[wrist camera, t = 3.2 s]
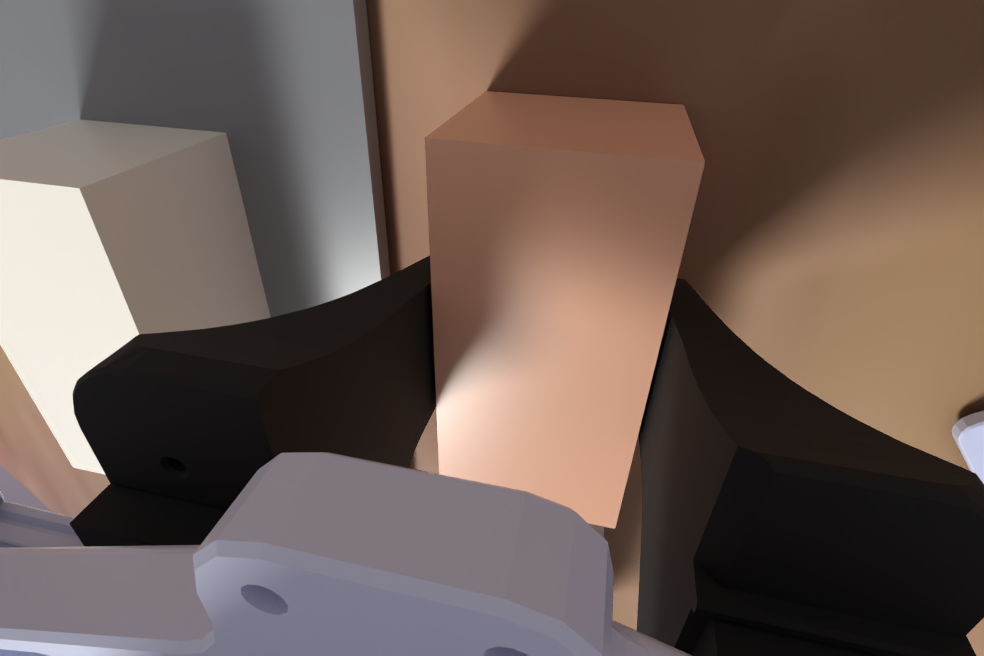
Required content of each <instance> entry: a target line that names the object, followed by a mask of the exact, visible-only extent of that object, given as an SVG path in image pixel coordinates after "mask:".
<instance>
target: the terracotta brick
mask: <svg viewBox="0 0 984 656" xmlns="http://www.w3.org/2000/svg"><path fill="white" fill-rule="evenodd" d="M425 150H426V174H427V197H428V221H429V244H430V268H431V291H432V315H433V339H434V362H435V386H436V409H437V433H438V457H439V474H441V475H446V476H451V477H456V478H461V479H466V480H471V481H476V482H481V483H486V484H491V485H496V486H502V487H507V488H512V489H517V490H522V491H527V492H530V493H532V494H535V495H538V496H540V497H543V498H545V499H548V500H551V501H553V502H556V503H558V504H561V505H564V506H566V507H569V508H571V509H573V510H574V511H575V512H577V513H578V514H579V515H580V516H581V517H582V518H583V519H584V520H585V521H586V522H587V523H589V524H594V525H599V526H603V527H608V528H613V529H615V527H616V523H617V519H618V515H619V511H620V507H621V503H622V499H623V495H624V491H625V487H626V483H627V479H628V475H629V470H630V466H631V462H632V458H633V454H634V450H635V446H636V442H637V438H638V434H639V430H640V426H641V422H642V418H643V414H644V409H645V405H646V401H647V397H648V393H649V389H650V385H651V381H652V377H653V373H654V369H655V365H656V361H657V357H658V352H659V348H660V344H661V340H662V336H663V332H664V328H665V324H666V320H667V316H668V312H669V308H670V304H671V300H672V295H673V291H674V287H675V283H676V279H677V275H678V271H679V267H680V263H681V259H682V255H683V251H684V247H685V243H686V238H687V234H688V230H689V226H690V222H691V218H692V214H693V210H694V206H695V202H696V198H697V194H698V190H699V186H700V182H701V177H702V173H703V169H704V165H705V160H704V157H703V155H702V152H701V149H700V147H699V144H698V141H697V139H696V136H695V133H694V131H693V128H692V125H691V123H690V120H689V117H688V115H687V112H686V109H685V107H684V105H679V104H665V103H651V102H636V101H622V100H608V99H593V98H579V97H564V96H550V95H536V94H521V93H507V92H493V91H486V92H484V93H483V94H482V95H481V96H479V97H478V98H477V99H475V100H474V101H473V102H471V103H470V104H469V105H467V106H466V107H465V108H463V109H462V110H461V111H460V112H458V113H457V114H456V115H454V116H453V117H452V118H450V119H449V120H448V121H446V122H445V123H444V124H443V125H441V126H440V127H439V128H437V129H436V130H435V131H433V132H432V133H431V134H429V135H428V136H427V137H425Z"/></svg>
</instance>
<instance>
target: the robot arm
mask: <svg viewBox="0 0 984 656" xmlns="http://www.w3.org/2000/svg"><path fill="white" fill-rule="evenodd" d="M73 406H74V414H75V417H76V419H77V421H78V424H79V426H80V429H81V431H82V432H83V434H84V436H85V438H86V440H87V442H88V443H89V445H90V447H91V449H92V451H93V452H94V454H95V456H96V458H97V460H98V462H99V463H100V465H101V467H102V469H103V471H104V472H105V474H106V476H107V478H108V480H109V482H110V483H111V484H110V485H109V486H108V487H107V488H106V489H105V490H103V491H102V492H101V493H100V494H99V495H98V496H97V497H96V498H95V499H94V500H93V501H92V502H91V503H90V504H89V505H88V506H87V507H86V508H85V509H84V510H83V511H82V512H81V513H80V514H79V515H78V516H77V517H75V518H74V517H70V516H66V515H62V514H58V513H53V512H49V511H45V510H41V509H37V508H33V507H28V506H24V505H20V504H16V503H12V502H7V501H4V497H3V494H2V492H1V491H0V656H976V654H975V652H974V650H973V648H972V646H971V644H970V642H969V640H968V638H967V636H966V635H967V634H968V633H969V632H970V631H971V630H972V629H973V628H974V627H975V626H976V625H977V624H978V623H979V622H980V621H981V620H982V619H983V618H984V411H980V412H977V413H973V414H970V415H968V416H965V417H963V418H961V419H960V420H959V421H958V422H956V423H955V425H954V426H953V428H952V435H953V438H954V440H955V442H956V444H957V446H958V447H959V449H960V451H961V453H962V455H963V457H964V459H965V461H966V463H967V465H968V467H969V469H970V471H969V470H966V469H964V468H962V467H959V466H957V465H954V464H952V463H950V462H947V461H945V460H943V459H940V458H938V457H936V456H933V455H931V454H928V453H926V452H924V451H921V450H919V449H917V448H914V447H912V446H909V445H907V444H905V443H903V442H900V441H898V440H896V439H894V438H892V437H890V436H888V435H886V434H884V433H882V432H880V431H878V430H876V429H874V428H872V427H870V426H868V425H866V424H864V423H862V422H860V421H858V420H856V419H854V418H853V417H851V416H849V415H847V414H845V413H844V412H842V411H840V410H838V409H836V408H835V407H833V406H831V405H830V404H828V403H826V402H825V401H823V400H821V399H820V398H818V397H817V396H815V395H813V394H812V393H810V392H808V391H807V390H805V389H804V388H802V387H801V386H799V385H798V384H796V383H795V382H793V381H792V380H790V379H789V378H788V377H786V376H785V375H784V374H782V373H781V372H780V371H778V370H777V369H776V368H774V367H773V366H772V365H770V364H769V363H767V362H766V361H765V360H764V359H763V358H761V357H760V356H759V355H758V354H756V353H755V352H754V351H753V350H752V349H751V348H750V347H749V346H747V345H746V344H745V343H744V342H743V341H742V340H741V339H740V338H739V337H738V336H736V335H735V334H734V333H733V332H732V331H731V330H730V329H729V328H728V327H727V326H726V325H725V324H724V323H723V322H722V321H721V319H720V318H719V317H718V316H717V315H716V314H715V313H714V312H713V311H712V310H711V309H710V308H709V306H708V305H707V304H706V303H705V302H704V301H703V300H702V299H701V297H700V296H699V295H698V294H697V293H696V292H695V290H694V289H693V288H692V287H691V286H690V285H689V284H688V283H687V282H686V281H685V280H684V279H678V278H677V279H676V283H675V287H674V291H673V295H672V300H671V304H670V308H669V312H668V316H667V320H666V324H665V328H664V332H663V336H662V340H661V344H660V348H659V352H658V357H657V361H656V365H655V369H654V373H653V377H652V381H651V385H650V389H649V393H648V397H647V401H646V405H645V409H644V414H643V418H642V422H641V426H640V430H639V444H640V455H641V467H642V486H643V500H642V533H641V557H640V581H639V600H638V619H637V631H636V630H634V629H631V628H629V627H627V626H625V625H622V624H620V623H618V622H616V621H614V620H612V611H613V584H614V572H613V566H612V561H611V556H610V550H609V545H608V542H607V541H606V540H605V539H604V538H603V537H602V536H601V535H600V534H599V533H598V532H597V531H596V530H594V529H593V528H592V527H591V526H590V525H589V524H588V523H587V522H586V521H585V520H584V519H583V518H582V517H581V516H580V515H579V514H578V513H577V512H575V511H574V510H573V509H571V508H569V507H566V506H564V505H561V504H558V503H556V502H553V501H551V500H548V499H545V498H543V497H540V496H538V495H535V494H532V493H530V492H527V491H522V490H517V489H512V488H507V487H502V486H496V485H491V484H486V483H481V482H476V481H471V480H466V479H461V478H456V477H451V476H446V475H441V474H436V473H430V472H425V471H420V470H415V469H410V468H408V466H409V464H410V461H411V458H412V456H413V453H414V450H415V448H416V446H417V444H418V441H419V439H420V437H421V435H422V433H423V431H424V429H425V427H426V425H427V423H428V421H429V419H430V417H431V415H432V413H433V411H434V409H435V407H436V386H435V362H434V339H433V315H432V291H431V268H430V256H428V257H426V258H424V259H422V260H420V261H418V262H416V263H414V264H412V265H410V266H409V267H407V268H405V269H403V270H401V271H399V272H397V273H395V274H393V275H391V276H389V277H387V278H385V279H382V280H380V281H378V282H376V283H373V284H371V285H369V286H367V287H364V288H362V289H360V290H358V291H356V292H353V293H351V294H348V295H346V296H343V297H340V298H338V299H335V300H332V301H329V302H326V303H323V304H320V305H317V306H314V307H310V308H307V309H303V310H299V311H295V312H291V313H287V314H283V315H279V316H275V317H271V318H267V319H262V320H257V321H251V322H246V323H241V324H234V325H228V326H221V327H214V328H206V329H197V330H186V331H174V332H163V333H151V334H139V335H137V336H136V337H134V338H133V339H132V340H130V341H129V342H128V343H126V344H125V345H124V346H122V347H121V348H120V349H118V350H117V351H116V352H114V353H113V354H111V355H110V356H109V357H107V358H106V359H104V360H103V361H102V362H100V363H99V364H97V365H96V366H95V367H93V368H92V369H90V370H89V371H88V372H87V373H85V374H84V375H83V376H82V377H80V378H79V379H78V380H77V382H76V385H75V387H74V390H73Z"/></svg>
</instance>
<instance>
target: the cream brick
mask: <svg viewBox="0 0 984 656" xmlns="http://www.w3.org/2000/svg"><path fill="white" fill-rule="evenodd" d="M267 318H271V317H270V313H269V308H268V304H267V300H266V296H265V292H264V288H263V284H262V279H261V275H260V271H259V267H258V263H257V259H256V255H255V250H254V246H253V242H252V238H251V234H250V230H249V226H248V221H247V217H246V213H245V209H244V205H243V201H242V197H241V192H240V188H239V184H238V180H237V176H236V172H235V168H234V163H233V159H232V155H231V151H230V147H229V143H228V138H227V134H226V133H224V132H213V131H202V130H191V129H180V128H169V127H158V126H147V125H136V124H125V123H114V122H103V121H92V120H81V119H80V120H76V121H72V122H68V123H64V124H60V125H56V126H52V127H48V128H45V129H41V130H37V131H33V132H29V133H25V134H21V135H17V136H13V137H9V138H5V139H2V140H0V345H1V347H2V348H3V350H4V352H5V353H6V355H7V357H8V359H9V360H10V362H11V364H12V365H13V367H14V369H15V370H16V372H17V374H18V375H19V377H20V379H21V380H22V382H23V384H24V385H25V387H26V389H27V391H28V392H29V394H30V396H31V397H32V399H33V401H34V402H35V404H36V406H37V407H38V409H39V411H40V412H41V414H42V416H43V418H44V419H45V421H46V423H47V424H48V426H49V428H50V429H51V431H52V433H53V434H54V436H55V438H56V439H57V441H58V443H59V445H60V446H61V448H62V450H63V451H64V453H65V455H66V456H67V458H68V460H69V461H70V463H71V465H72V466H73V467H74V468H78V469H83V470H87V471H92V472H96V473H101V474H105V472H104V471H103V469H102V467H101V465H100V463H99V462H98V460H97V458H96V456H95V454H94V452H93V451H92V449H91V447H90V445H89V443H88V442H87V440H86V438H85V436H84V434H83V432H82V431H81V429H80V426H79V424H78V421H77V419H76V417H75V414H74V406H73V390H74V387H75V385H76V382H77V380H78V379H79V378H80V377H82V376H83V375H84V374H85V373H87V372H88V371H89V370H90V369H92V368H93V367H95V366H96V365H97V364H99V363H100V362H102V361H103V360H104V359H106V358H107V357H109V356H110V355H111V354H113V353H114V352H116V351H117V350H118V349H120V348H121V347H122V346H124V345H125V344H126V343H128V342H129V341H130V340H132V339H133V338H134V337H136V336H137V335H139V334H151V333H163V332H174V331H186V330H197V329H206V328H214V327H221V326H228V325H234V324H241V323H246V322H251V321H257V320H262V319H267ZM105 475H106V474H105Z"/></svg>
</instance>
